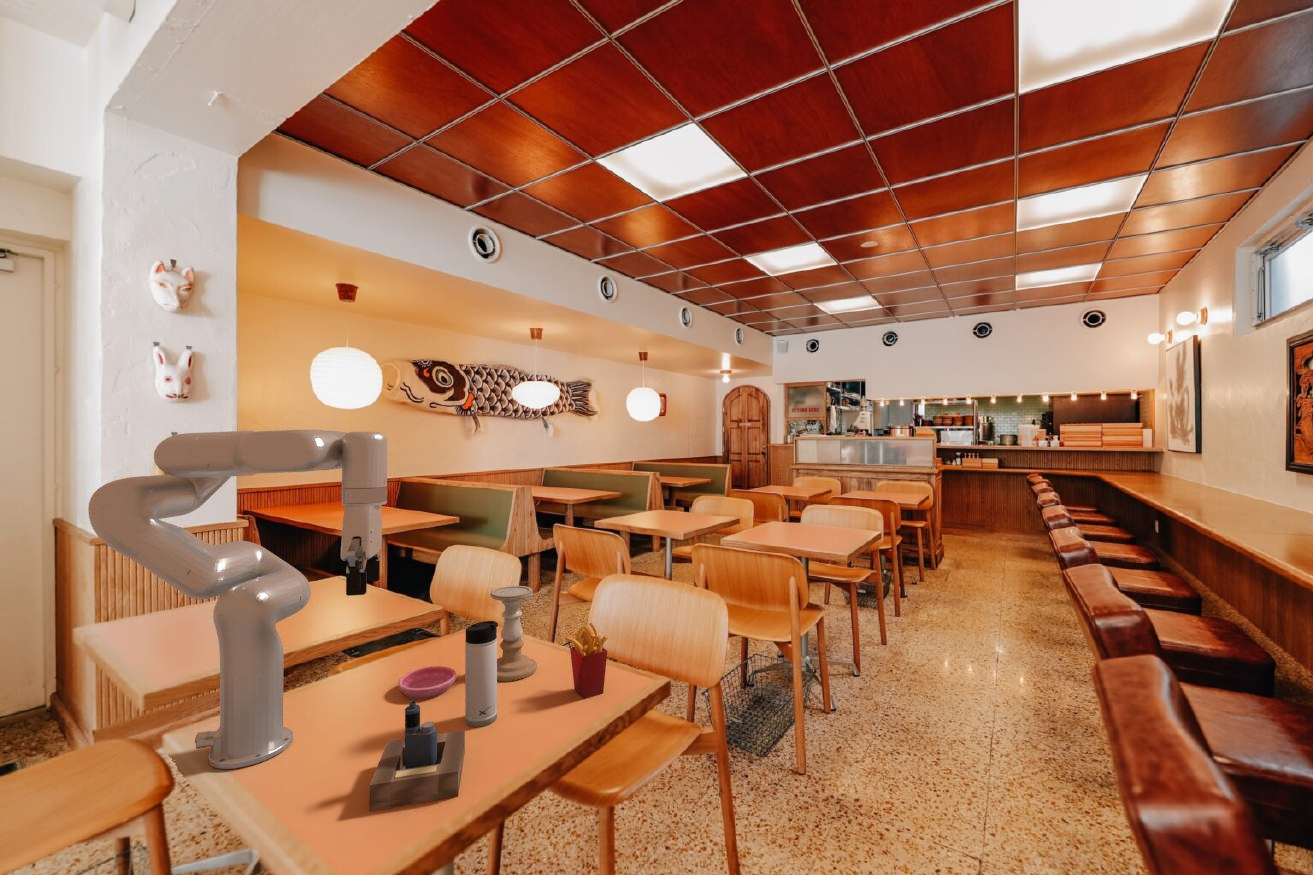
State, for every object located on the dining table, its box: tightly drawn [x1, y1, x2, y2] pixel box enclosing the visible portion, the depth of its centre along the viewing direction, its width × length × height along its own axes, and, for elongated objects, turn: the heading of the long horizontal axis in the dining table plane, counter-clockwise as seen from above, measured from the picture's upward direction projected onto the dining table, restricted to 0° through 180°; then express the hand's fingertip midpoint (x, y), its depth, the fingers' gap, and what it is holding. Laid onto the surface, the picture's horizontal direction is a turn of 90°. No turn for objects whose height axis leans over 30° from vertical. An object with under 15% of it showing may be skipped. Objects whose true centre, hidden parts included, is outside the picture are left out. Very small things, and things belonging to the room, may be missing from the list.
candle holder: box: [489, 585, 538, 682], centre depth 135 cm, size 12×12×20 cm
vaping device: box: [403, 700, 438, 769], centre depth 92 cm, size 3×5×12 cm, turn 93°
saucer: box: [397, 665, 457, 700], centre depth 125 cm, size 12×12×3 cm
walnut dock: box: [368, 729, 466, 812], centre depth 92 cm, size 13×13×4 cm
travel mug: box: [464, 620, 499, 728], centre depth 111 cm, size 6×7×20 cm
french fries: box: [565, 622, 609, 700], centre depth 124 cm, size 9×8×15 cm
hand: (363, 587), depth 101 cm, fingers open, 9 cm apart
